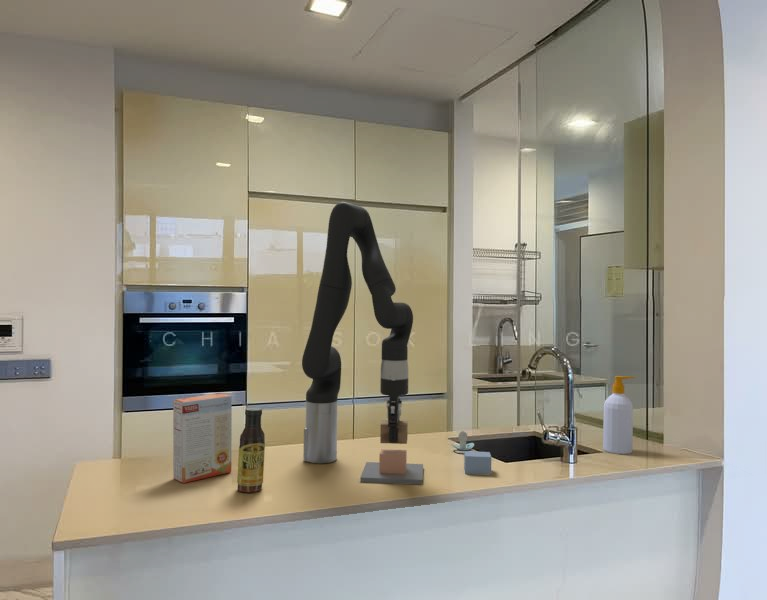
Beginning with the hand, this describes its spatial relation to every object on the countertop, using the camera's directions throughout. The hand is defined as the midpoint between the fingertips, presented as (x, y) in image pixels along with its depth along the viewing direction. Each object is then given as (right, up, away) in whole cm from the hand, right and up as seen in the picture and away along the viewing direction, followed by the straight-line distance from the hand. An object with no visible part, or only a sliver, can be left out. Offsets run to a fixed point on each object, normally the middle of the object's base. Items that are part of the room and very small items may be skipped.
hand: (394, 439), depth 152 cm
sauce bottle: (-35, -9, -13) cm, 39 cm away
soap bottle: (+72, -11, +28) cm, 78 cm away
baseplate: (0, -10, 0) cm, 10 cm away
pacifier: (+22, -10, +25) cm, 35 cm away
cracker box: (-51, -9, -3) cm, 52 cm away
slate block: (+23, -10, +4) cm, 26 cm away
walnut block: (0, 0, 0) cm, 0 cm away
